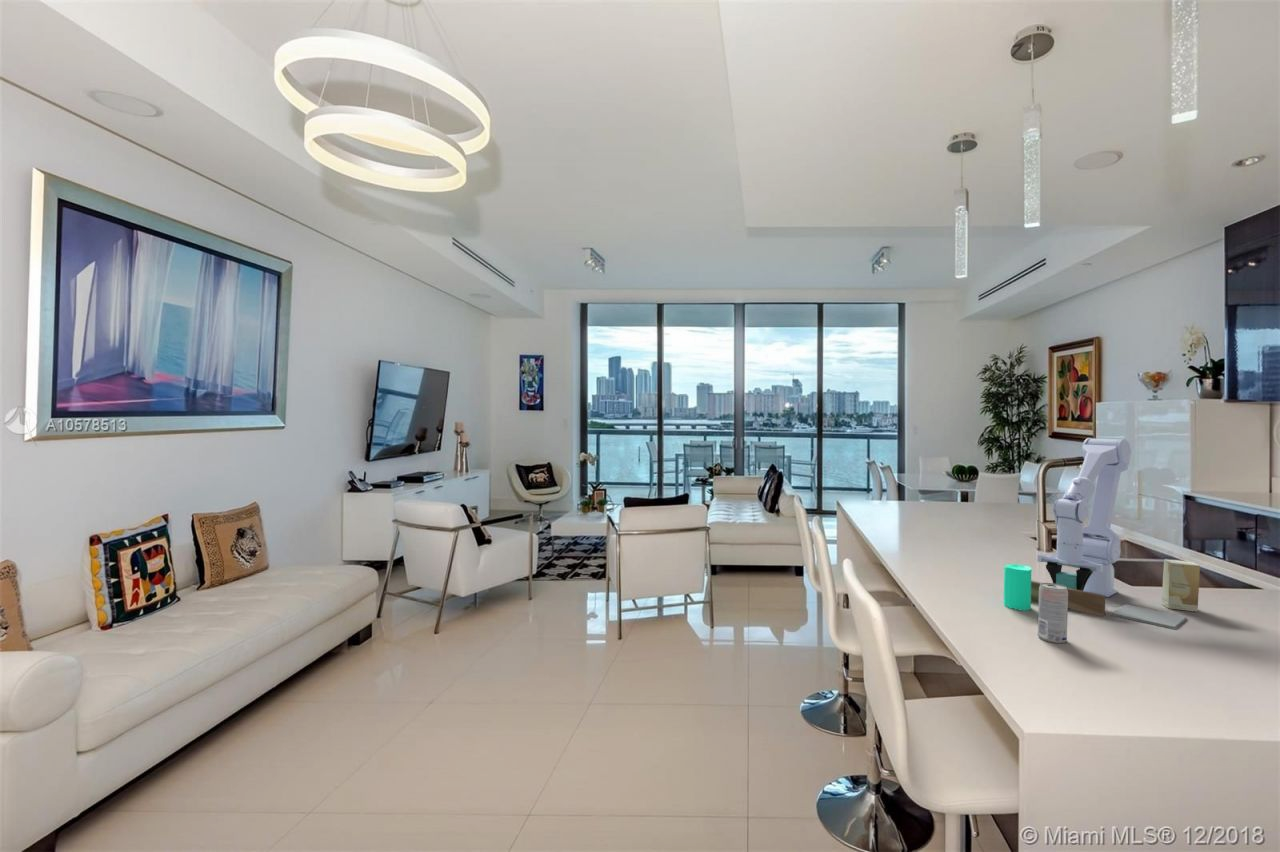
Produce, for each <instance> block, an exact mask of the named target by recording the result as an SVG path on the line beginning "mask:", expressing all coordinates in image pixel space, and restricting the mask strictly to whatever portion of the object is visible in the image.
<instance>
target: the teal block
mask: <svg viewBox="0 0 1280 852" xmlns="http://www.w3.org/2000/svg"><path fill="white" fill-rule="evenodd" d="M1056 584H1059V585H1063V586H1066V587H1067V588H1071V589H1076V590H1077V574H1076V573H1074V572H1068V571H1063V570H1061V572H1060V573H1057V574H1056Z"/></svg>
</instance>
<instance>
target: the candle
mask: <svg viewBox="0 0 1280 852" xmlns="http://www.w3.org/2000/svg"><path fill="white" fill-rule="evenodd" d="M1003 567H1004V568H1003V569H1004V570H1003V606H1004V605H1005V606H1004V607H1006V606H1007V607H1006V608H1008V607H1009V608H1008V609H1012V608H1014V609H1013V610H1016V609H1020V610H1019V611H1030V610H1031V609H1032V608H1031V606H1032V600H1031V580H1032V567H1031V566H1030V565H1029V566H1028V565H1023V564H1019V562H1017V563H1016V564H1015V563H1011V564H1008V565H1004V566H1003Z"/></svg>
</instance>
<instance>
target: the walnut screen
mask: <svg viewBox="0 0 1280 852" xmlns="http://www.w3.org/2000/svg"><path fill="white" fill-rule="evenodd" d="M1041 583H1043V582H1041V581H1036V580H1032V579H1031V601H1033V600H1034V601H1033V602H1037V601H1038V602H1037V603H1039V586H1040V584H1041ZM1067 590H1068V608H1070V609H1069V610H1073V609H1074V610H1073V611H1078V612H1082V613H1087V614H1091V615H1095V616H1100V617H1105V616H1106V600H1107V599H1106V598H1107V597H1106V595H1101V594H1096V593H1091V592H1086V591H1081V590H1076V589H1071V588H1067Z"/></svg>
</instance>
